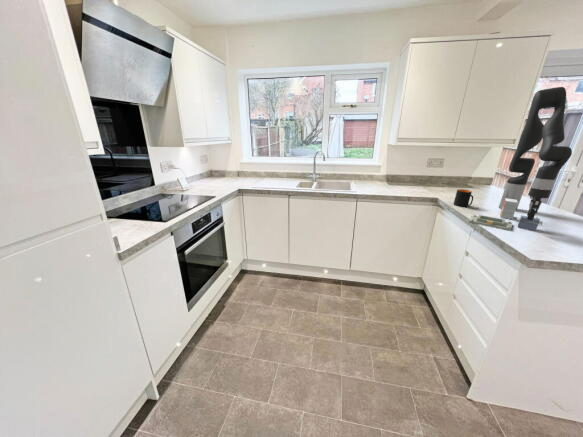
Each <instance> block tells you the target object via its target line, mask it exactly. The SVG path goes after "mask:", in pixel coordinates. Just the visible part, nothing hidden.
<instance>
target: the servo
mask: <svg viewBox="0 0 583 437" xmlns="http://www.w3.org/2000/svg"><path fill="white" fill-rule="evenodd" d="M527 217H528V216H527V215H520V216H519V217H516V221H518V223H517V225H518V226H517V225H516V226H517V227H518V228H519V229H522V228H523V230H527V229H528V230H529V231H532V230H533V231H534V232H536V231H537V229H538V226H539V225H541V226H542V225H543V221H541V218H540V217H539V218H538V217H537V216H534V219H533V220H528V219H527Z"/></svg>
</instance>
